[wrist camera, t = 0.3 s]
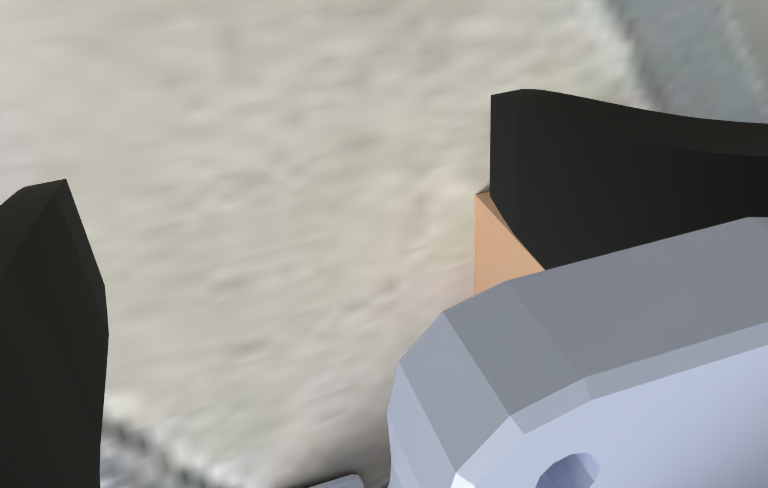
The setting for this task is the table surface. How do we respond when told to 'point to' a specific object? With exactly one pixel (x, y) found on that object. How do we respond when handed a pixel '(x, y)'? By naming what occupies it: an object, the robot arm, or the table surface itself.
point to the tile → (497, 248)
